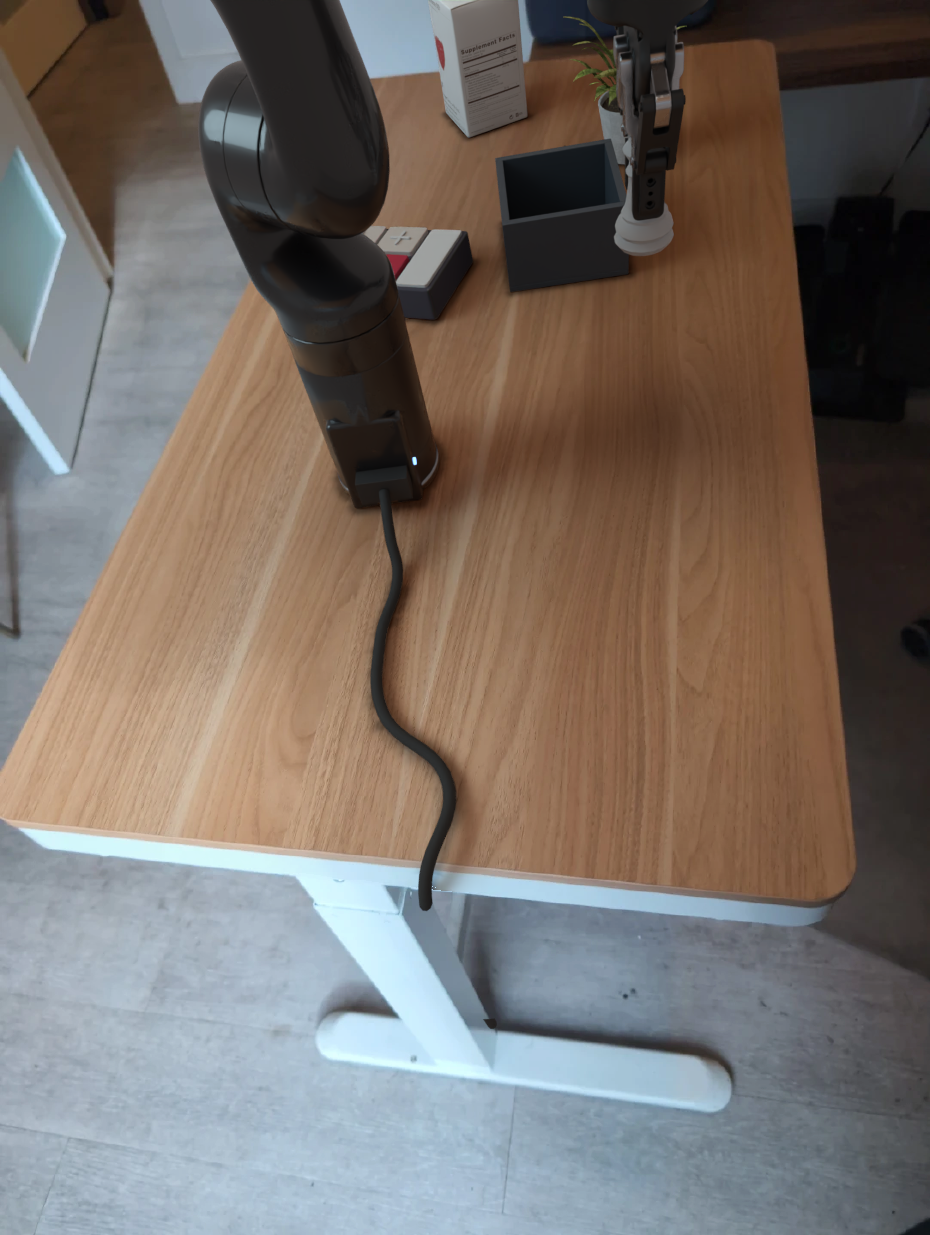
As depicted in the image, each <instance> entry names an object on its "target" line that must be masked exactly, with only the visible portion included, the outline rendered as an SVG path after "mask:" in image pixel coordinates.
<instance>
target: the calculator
mask: <svg viewBox="0 0 930 1235" xmlns="http://www.w3.org/2000/svg"><path fill="white" fill-rule="evenodd" d="M363 234H364V235H366V236H367V237H368V238H369V239H371V240H372V241H373V242H375V243H376V244H377V245H378V246H379V247H380V248H381V249H382V250H383V251H384V252H385V254H386V255H387V257H388V258H389V260H390V263H391V265H392V268H393V272H394V275H395V280H396V284H397V288H398V292H399V296H400V301H401V305H402V309H403V313H404V317H405V319H418V320H429V321H430V320H431V321H432V320H437V319H438V318H439V317H440V315H441V314H442V312H443V311H444V309H445V307H446V306H447V304H448V302H449V301H450V299H451V298H452V296H453V295H454V293H455V291H456V290H457V288H458V287H459V285H460V283H462V280H463V279H464V277H465V275H466V274H467V273H468V271H469V268H471V266H472V264H473V263H474V257H473V252H472V247H471V244H470V243H471V242H470V238H469V233H468V231H467V230H461V229H440V228H439V229H435V228H434V229H428V228H427V227H424V226H423V227H421V226H391V227H389V228H387V227H386V226H384V225H372V226H371V227H370V228H368V229H367V230H366V231H364V232H363Z"/></svg>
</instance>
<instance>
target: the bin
mask: <svg viewBox="0 0 930 1235" xmlns="http://www.w3.org/2000/svg"><path fill="white" fill-rule="evenodd" d="M494 162H495V170H496V180H497V189H498V190H497V191H498V199H499V209H500V217H501V228H502V236H503V242H504V243H503V245H504V252H505V260H506V270H507V278H508V285H509V287H508V288H509V292H510V293H514V292H521V291H527V290H528V291H529V290H533V289H534V290H535V289H540V288H547V287H555V286H558V285H567V284H574V283H579V282H586V281H592V280H593V281H594V280H598V279H599V280H601V279H605V278H612V277H619V276H625V275H629V273H630V270H629V269H630V267H629V265H630V254H627V253H624V252H623V251H622V250H621V249H620V248H619V247H618V246H617V245H616V243H615V239H614V236H615V234H616V229H615V224H616V221H617V219H618V217H619V215H620V214H621V210H622V208H623V206H624V205H625V202H626V195H627V190H626V187H625V183H624V180H623V177H622V173H621V170H620V166H619V164H618V162H617V158H616V155H615V151H614V148H613V144H612V141H611V138H610V139H604V138H603V139H598V140H593V141H586V142H581V143H575V144H568V145H562V146H557V147H552V148H551V147H550V148H546V149H540V150H539V149H538V150H534V151H529V152H522V153H517V154H516V153H515V154H511V155H505V156H499V157H498V156H497V157H495V158H494Z"/></svg>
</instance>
